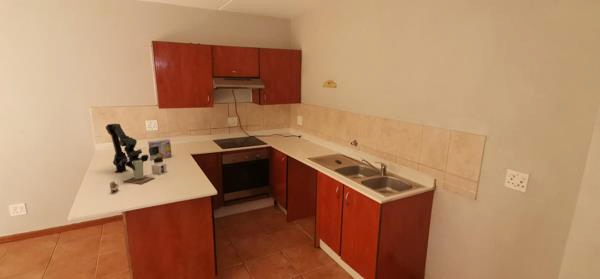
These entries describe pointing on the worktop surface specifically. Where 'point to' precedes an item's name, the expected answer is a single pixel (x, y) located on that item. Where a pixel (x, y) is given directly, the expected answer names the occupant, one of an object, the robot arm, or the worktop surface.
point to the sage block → (138, 169)
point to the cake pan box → (160, 148)
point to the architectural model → (113, 186)
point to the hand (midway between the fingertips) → (138, 169)
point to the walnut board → (139, 180)
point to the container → (158, 166)
